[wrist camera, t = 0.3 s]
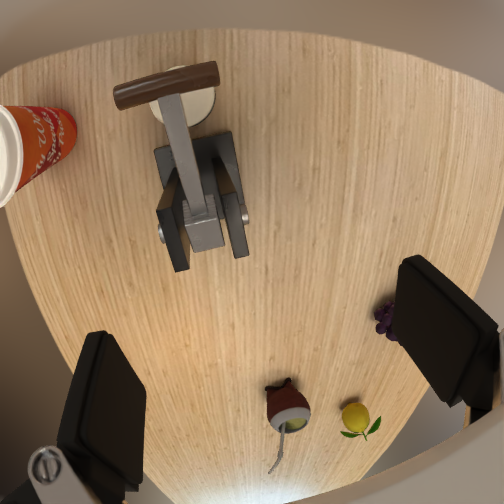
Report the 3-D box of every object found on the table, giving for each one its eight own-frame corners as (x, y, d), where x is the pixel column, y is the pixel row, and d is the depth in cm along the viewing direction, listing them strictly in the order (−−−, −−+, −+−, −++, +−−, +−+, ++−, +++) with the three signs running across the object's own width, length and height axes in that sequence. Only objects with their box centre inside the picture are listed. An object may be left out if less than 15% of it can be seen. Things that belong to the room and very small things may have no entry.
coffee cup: (91, 163, 29) (23, 207, 16) (31, 177, 28) (-47, 226, 15) (83, 88, 25) (6, 83, 12) (21, 108, 24) (-66, 123, 11)
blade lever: (117, 79, 13) (109, 96, 11) (213, 55, 13) (219, 67, 12) (172, 232, 22) (174, 258, 21) (238, 217, 23) (245, 241, 21)
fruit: (369, 282, 46) (449, 273, 44) (366, 337, 49) (441, 326, 47) (386, 315, 37) (478, 300, 34) (379, 375, 40) (463, 359, 38)
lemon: (367, 391, 56) (387, 428, 47) (358, 407, 58) (375, 443, 50) (339, 397, 55) (357, 436, 46) (331, 413, 57) (347, 450, 48)
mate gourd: (307, 378, 50) (336, 449, 36) (287, 404, 52) (309, 472, 39) (269, 373, 47) (292, 452, 34) (250, 401, 50) (267, 474, 37)
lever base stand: (155, 148, 30) (121, 181, 17) (230, 130, 30) (255, 149, 17) (175, 226, 34) (164, 305, 21) (245, 210, 34) (276, 279, 21)
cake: (147, 77, 26) (140, 73, 22) (209, 62, 27) (210, 56, 23) (159, 134, 29) (154, 138, 25) (220, 120, 30) (223, 122, 26)
